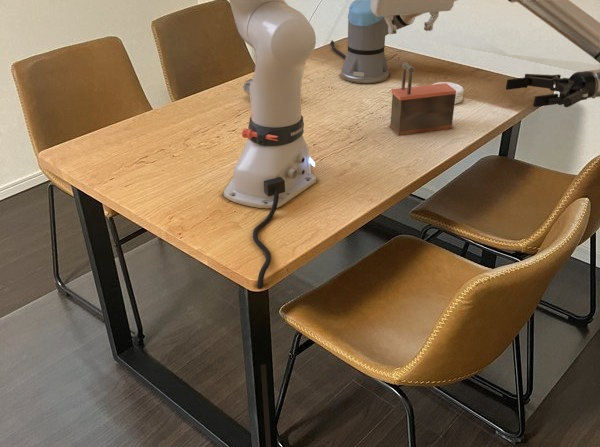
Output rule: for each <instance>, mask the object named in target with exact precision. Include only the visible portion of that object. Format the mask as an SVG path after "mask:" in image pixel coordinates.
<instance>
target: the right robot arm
mask: <svg viewBox="0 0 600 447" xmlns="http://www.w3.org/2000/svg"><path fill="white" fill-rule="evenodd" d="M457 1H458V0H454V3H455V2H457ZM507 1H508V2H509V3H511V4H514V3H518V4H519V5H521V6H522V7H523V8H524V9H526V10H527V11H529V12H530V13H532V14H533V15H534V16H536V17H537V18H538V19H539V20H541V21H542V22H544V23H545V24H546V25H547V26H549V27H550V28H552V29H553V30H555V31H556V32H557V33H558V34H560V35H561V36H563V38H565V39H566V40H568V41H569V42H571V43H572V44H574V46H576V47H577V48H579V49H580V50H581V51H583V52H584V53H585V54H587V55H588V56H590V57H591V58H592V59H594V60H595V61H596V62H598V63H599V64H600V21H598V20H597V19H595V18H594V17H593V16H591V15H590V14H589V13H587V12H586V11H585V10H583V9H581V7H579V6H578V5H576V4H575V3H573V2H572V1H571V0H507ZM425 14H426V13H417V14H405V15H394V16H393V20H391V22H392V24H393V25H395V26H396V27H397V30H396V31H398V30H399V29H403V28H405V27H408V26H410V25H412V24H413V23H414V22H415V20H416V18H417V17H420V16H422V15H425ZM388 35H390V34H389V33H388V24H387V22H386V20H385V16H381V17H378V16H376V15H374V14H373V13H372V11H371V0H353V1H352V2H351V3H350V4H349V6H348V13H347V52H346V54H344V53H343V52H341V51H340V50H338V49H337V48H336V47H335V41H334V40H330V45H331V49H332V50H333V51H334V52H335V53H336V54H337V55H339V56H340V57H342V58H343V59H344V61H343V64H342V66H341V72H340V76H341V78H342V79H343V80H345V81H347V82H350V83H354V84H355V83H356V84H363V85H364V84H367V85H368V84H378V83H381V82H384V81H387V80H388V78H389V76H390V74H389V73H390V70H389V66H388V62H387V58H386V54H385V45H386V36H388ZM561 77H562V75H561V74H540V73H538V74H537V73H525V74H524V77H517V78H507V79H506V85H505V90H507V91H508V90H516V89H527V88H528V87H534V88H543V89H549V91H551V92H559V94H558V93H551V94H550V93H549V94H542V95H536V96H534V100H533V105H532V106H533V107H534V108H538V107H546V106H554V105H555V106H556V105H559V106H563V107H564V108H569V107H571V106H573V105H575V104H577V103H579V102H581V101H585V100H588V99H596V98H600V68H599V69H591V70H584V71H576V72H574V73H573V74H571V76H570V77H562V78H561Z"/></svg>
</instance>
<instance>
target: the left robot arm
mask: <svg viewBox="0 0 600 447" xmlns="http://www.w3.org/2000/svg"><path fill="white" fill-rule="evenodd" d="M228 1H229V2H228V3H229V4H230V8H231V12H232V15H233V18H234V24H235V27H236V29H237V31H238V34H239V36H240V37H241V39H242V40H243V41H244V42H245V43H246V44H247V45H249V47H250V48H252V49H253V51H254V53H255V55H254V56H255V66H254V72H253V76H252V78H251V79H252V80H251V82H250V86H249V88H250V95H249V101H250V102H249V103H250V117H249V123H248V126H247V128H245V127H244V128H243V129H242V131H241V137H242V138H244V139H247V140H246V142H245V144H244V146H243V148H242V151H241V153H240V154H239V157H238V159H237V161H236V163H235V166H234V167H233V168H234V169H233V177H232V178H231V180H230V181H229V183H228V184H227V186H226V187H225V188H224V190H223V196H224V198H225V199H228V200H229V201H231V202H233V203H237V204H239V205H244V206H248V207H252V208H258V209H270V210H269V213H268V215H267V216H266V218H265V219H264V220H263V221H261V223H259V224H258V225H257V226H255V228H254V229H253V232H252V239H253V241H254V243H255V244H256V245H257V246H258V247H259V249H260V250H261V251H263V253H264V256H265V261H264V263H263V265H262V266H261V269H260V271H259V272H258V277H257V285H256V286H257V287H256V288H257V289H258V290H262V289H263V287H264V279H265V275H266V272H267V271H268V268H269V267H270V265H271V261H272V256H271V252H270V250H269V249H268V247H267V246H266V245H265V244H264V243H263V242H262V241H261V240H260V238H259V233H260V231H261V229H263V228H264V227H266V225H268V224H269V223H270V222H271V220H272V219H273V217H274V215H275V213H276V211H277V209H278V208H280V207H283V205H285V204H286V203H288V202H289V201H292V199H294V198H295V197H296V196H298V195H299V194H301V193H303V192H304V191H305V190H307V189H308V188H309V187H311V186H313V185H314V184H316V182H317V176H316V175H315V174H314V173H312V167H311V165H312V166H313V167H316V162H315V161H314V160H313V158H311V154H310V147H309V145H308V144H307V142H306V140H305V138H304V133H305V132H304V131H305V130H304V127H305V121H304V116H303V115H302V83H303V76H304V72H305V68H306V63H307V61H308V60H309V59H310V58H311V56H312V55H313V53H314V51H315V49H316V48H315V47H316V44H317V37H316V32H315V29H314V27H313V26H312V25H311V23H310V21H309V20H308V19H307V17H306V16H305V15H304V14H303V13H302V12H301V11H299V10H298V9H295V8H293V6H290V5H289V4H288V3H287V2H286V1H285V0H228ZM454 4H455V2H454V0H371V11H372V13H373V14H374V15H376V16H378V17H381V16H385V20H386V22H387V24H388V33H389V34H388V35H396V34H397V31H398V30H397V27H396V26H395V25H393V24H392V22H391V20H393V16H394V15H405V14H417V13H425V14H427V13H429V15H430V17H429V19H428V20H427V21H425V22H424V26H423V30H424V31H426V32H431V31H433V29H434V24H435V22H436V21H437V19H438V18H439V14H440V13H441V12H450V11H451V10H452V9H453V8H454ZM439 12H440V13H439ZM260 374H261V375H260V376H261V387H262V388H261V391H262V406H263V416H264V417H263V422H264V432H265V433H264V434H265V435H264V436H265V447H272V442H271V426H270V409H269V395H268V392H269V391H268V378H267V377H268V376H267V364H266V363H264V364H260Z"/></svg>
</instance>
